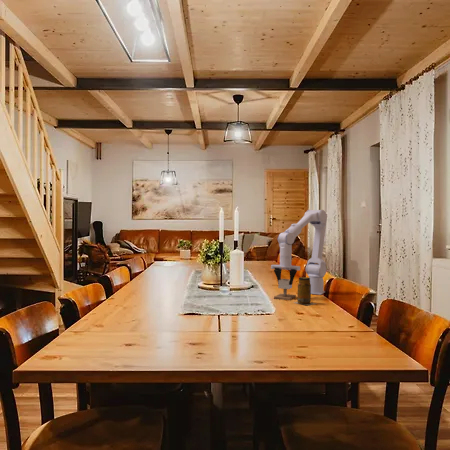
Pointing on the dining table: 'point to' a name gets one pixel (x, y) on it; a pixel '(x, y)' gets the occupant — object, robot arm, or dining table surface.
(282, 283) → the block with square hole
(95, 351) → the dining table surface
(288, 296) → the block
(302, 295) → the condiment
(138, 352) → the dining table surface
